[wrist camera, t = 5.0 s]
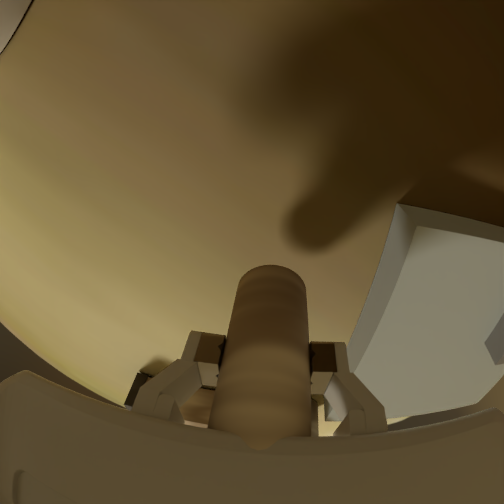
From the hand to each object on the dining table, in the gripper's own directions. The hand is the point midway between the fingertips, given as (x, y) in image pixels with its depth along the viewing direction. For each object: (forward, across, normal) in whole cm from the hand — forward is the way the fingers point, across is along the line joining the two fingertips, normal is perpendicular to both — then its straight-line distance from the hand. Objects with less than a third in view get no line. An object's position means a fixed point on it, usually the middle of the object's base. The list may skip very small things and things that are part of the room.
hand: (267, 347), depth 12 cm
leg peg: (+4, 0, 0) cm, 4 cm away
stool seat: (+6, -17, +6) cm, 19 cm away
